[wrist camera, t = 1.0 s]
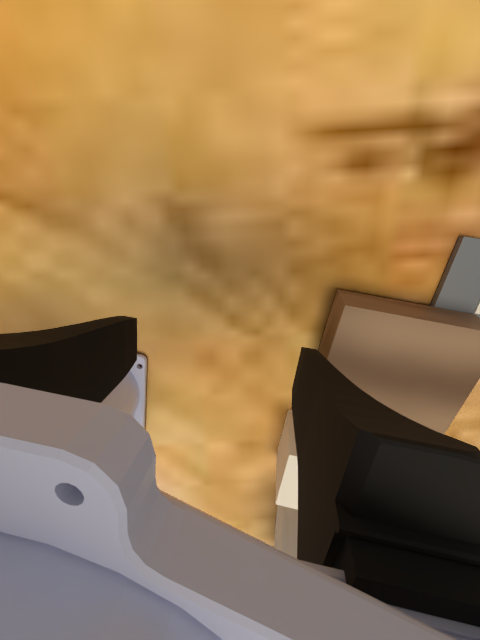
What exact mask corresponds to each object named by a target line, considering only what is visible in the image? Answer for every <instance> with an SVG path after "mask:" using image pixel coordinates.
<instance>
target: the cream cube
mask: <svg viewBox="0 0 480 640" xmlns="http://www.w3.org/2000/svg"><path fill="white" fill-rule="evenodd" d="M275 504H276V505H280V506H284V507H288V508H293V509H297V510H298V462H297V451H296V442H295V433H294V425H293V416H292V410H290V409H288V412H287V416H286V420H285V424H284V428H283V431H282V435H281V439H280V443H279V447H278V451H277V464H276V498H275Z"/></svg>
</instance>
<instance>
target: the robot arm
mask: <svg viewBox="0 0 480 640" xmlns="http://www.w3.org/2000/svg"><path fill="white" fill-rule="evenodd" d="M139 364H141V365H142V367H140V366H139ZM146 379H147V358H146V357H145V356H144V355H142V354H137V318H133V317H127V316H116V317H109V318H104V319H99V320H94V321H89V322H85V323H80V324H75V325H69V326H64V327H59V328H53V329H47V330H40V331H32V332H23V333H10V334H0V640H480V451H479V449H478V448H477V447H475V446H473V445H470V444H467V443H465V442H462V441H460V440H457V439H455V438H452V437H449V436H447V435H444V434H442V433H439V432H437V431H435V430H432V429H430V428H428V427H426V426H424V425H421V424H419V423H417V422H415V421H413V420H411V419H409V418H407V417H405V416H403V415H401V414H399V413H398V412H396V411H394V410H392V409H391V408H389V407H387V406H385V405H384V404H382V403H380V402H379V401H377V400H376V399H374V398H373V397H371V396H370V395H368V394H367V393H366V392H364V391H363V390H361V389H360V388H359V387H357V386H356V385H355V384H354V383H352V382H351V381H350V380H349V379H348V378H346V377H345V376H344V375H343V374H342V373H341V372H340V371H339V370H338V369H337V368H336V367H334V366H333V365H332V364H331V363H330V362H329V361H328V360H327V359H326V358H325V357H324V356H323V355H322V354H321V353H320V352H319V351H318V350H316V349H310V348H304V347H302V348H301V353H300V357H299V361H298V366H297V370H296V375H295V379H294V383H293V388H292V416H293V425H294V433H295V442H296V451H297V462H298V533H297V559H296V558H294V557H292V556H290V555H288V554H286V553H284V552H282V551H280V550H278V549H276V548H274V547H272V546H270V545H268V544H266V543H264V542H262V541H260V540H258V539H256V538H254V537H252V536H250V535H248V534H246V533H245V532H243V531H241V530H239V529H237V528H235V527H233V526H231V525H229V524H227V523H225V522H223V521H221V520H219V519H217V518H215V517H213V516H211V515H209V514H207V513H205V512H203V511H201V510H199V509H197V508H195V507H193V506H191V505H189V504H187V503H185V502H183V501H181V500H179V499H177V498H175V497H173V496H171V495H169V494H167V493H165V492H163V491H161V490H160V489H159V488H158V487H157V485H156V479H155V464H156V455H155V452H154V448H153V445H152V441H151V438H150V435H149V433H148V432H147V431H146V430H145V410H146Z"/></svg>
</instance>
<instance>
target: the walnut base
mask: <svg viewBox="0 0 480 640" xmlns="http://www.w3.org/2000/svg"><path fill="white" fill-rule="evenodd" d="M318 351H319V352H320V353H321V354H322V355H323V356H324V357H325V358H326V359H327V360H328V361H329V362H330V363H331V364H332V365H333V366H334V367H336V368H337V369H338V370H339V371H340V372H341V373H342V374H343V375H344V376H345V377H346V378H348V379H349V380H350V381H351V382H352V383H354V384H355V385H356V386H357V387H359V388H360V389H361V390H363V391H364V392H366V393H367V394H368V395H370V396H371V397H373V398H374V399H376V400H377V401H379V402H380V403H382V404H384V405H385V406H387V407H389V408H391V409H392V410H394V411H396V412H398V413H399V414H401V415H403V416H405V417H407V418H409V419H411V420H413V421H415V422H417V423H419V424H421V425H424V426H426V427H428V428H430V429H432V430H435V431H437V432H439V433H442V434H445V432H446V430H447V429H448V427H449V426H450V424H451V422H452V421H453V419H454V418H455V416H456V415H457V413H458V411H459V410H460V408H461V407H462V405H463V404H464V402H465V400H466V399H467V397H468V396H469V394H470V392H471V391H472V389H473V388H474V386H475V385H476V383H477V381H478V380H479V378H480V317H478V316H477V315H475V314H470V313H464V312H459V311H453V310H448V309H443V308H437V307H432V306H426V305H421V304H415V303H410V302H405V301H399V300H394V299H388V298H383V297H378V296H372V295H367V294H361V293H356V292H350V291H345V290H340V289H337V292H336V295H335V298H334V302H333V305H332V308H331V311H330V314H329V318H328V321H327V324H326V327H325V331H324V334H323V337H322V340H321V344H320V347H319V350H318Z"/></svg>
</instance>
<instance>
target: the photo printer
mask: <svg viewBox="0 0 480 640" xmlns="http://www.w3.org/2000/svg"><path fill="white" fill-rule="evenodd" d="M297 533H298V510H297V509H293V508H288V507H284V506H280V505H278V506H277V515H276V525H275V537H274V548H276V549H278V550H280V551H282V552H284V553H286V554H288V555H290V556H292V557H294V558H296V559H297Z"/></svg>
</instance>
